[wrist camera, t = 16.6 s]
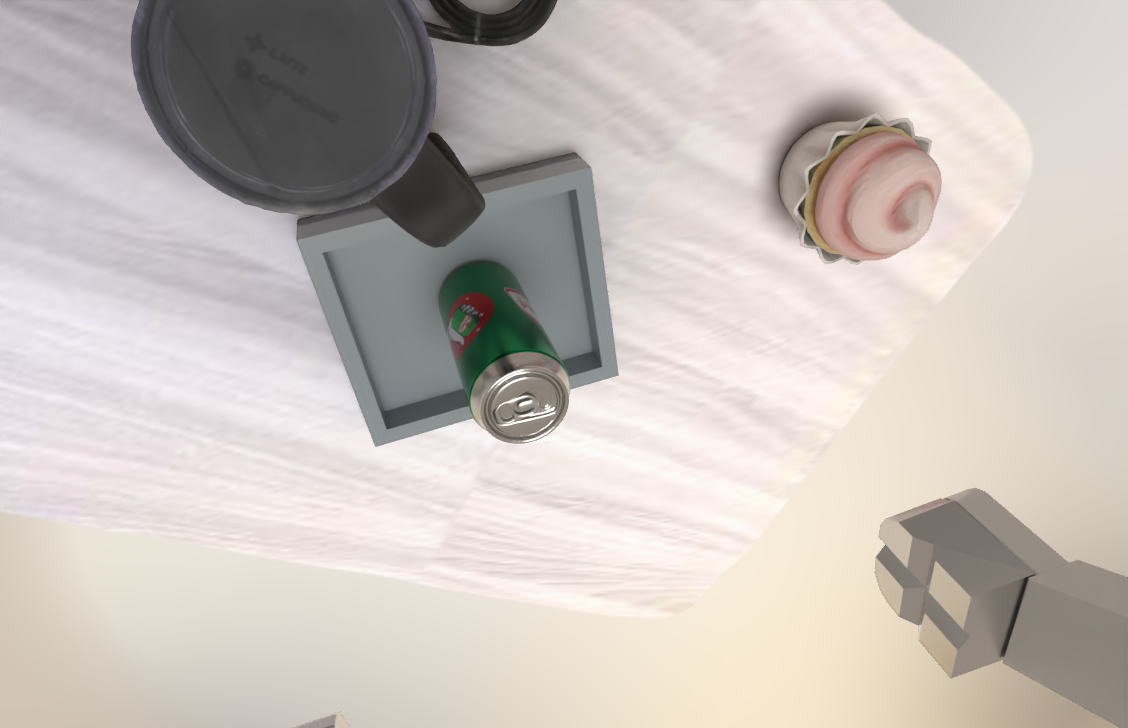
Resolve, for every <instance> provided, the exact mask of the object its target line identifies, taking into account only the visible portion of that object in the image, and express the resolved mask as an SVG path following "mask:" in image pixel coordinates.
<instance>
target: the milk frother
mask: <svg viewBox="0 0 1128 728" xmlns="http://www.w3.org/2000/svg"><path fill="white" fill-rule="evenodd" d="M430 2H431V4H432V5H433V7H434V8H435V10H436V11H437V12H438V13H439V14H440V16H441V17H442V18H443V19H444V20H446V21H447V22H448V23H449V24H450V25H451V28H446V27H442V26H438V25H434V24H431V23H428V22H424V21H423V20H422V18H421V15H420V13H419V12H418V10H417V8H416V7H415V5H414V3H413V1H412V0H140V1H139V4H138V7H137V10H136V13H135V17H134V21H133V25H132V35H131V54H132V63H133V70H134V76H135V79H136V83H137V88H138V91H139V94H140V96H141V99H142V101H143V104H144V106H145V109H146V111H147V113H148V115H149V116H150V118H151V120H152V122H153V124H154V126H155V128H156V129H157V131H158V133H159V135H160V136H161V137H162V139H163V140H164V142H165V143H166V144H167V145H168V146H169V147H170V148H171V150H172V151H173V152H174V153H175V154H176V155H177V156H178V157H179V158H180V159H181V160H182V161H183V162H184V163H185V164H186V165H187V166H188V167H189V168H190V169H191V170H192V171H193V172H194V173H195V174H197V175H198V176H199V177H201V178H202V179H203V180H205V181H206V182H207V183H209V184H210V185H212V186H213V187H215V188H216V189H218V190H220V191H221V192H223V193H225V194H227V195H229V196H231V197H233V198H236V199H238V200H240V201H241V202H243V203H244V204H248V205H252V206H256V207H260V208H262V209H265V210H270V211H274V212H280V213H291V214H300V215H312V214H325V213H331V212H335V211H339V210H343V209H347V208H351V207H354V206H357V205H360V204H363V203H366V202H368V201H371V202H372V203H373V204H374V205H375V206H376V207H378V208H379V209H380V210H381V211H382V212H383V213H384V214H385V215H387V216H388V217H389V218H390V219H391V220H392V221H394V222H395V223H396V224H397V225H398V226H400V227H401V228H402V229H404V230H405V231H406V232H407V233H409V234H410V235H412V236H413V237H414V238H416V239H417V240H419V241H420V242H422V243H424V244H426V245H428V246H430V247H433V248H438V247H446V246H447V245H448V244H450V243H451V242H452V241H454V240H455V239H456V238H457V237H459V236H460V235H461V234H462V233H463V232H464V231H466V230H467V229H468V228H469V227H470V226H471V225H472V224H473V223H474V222H475V221H476V220H477V218H478V217H479V216H480V215H481V213H482V212H483V211H484V209H485V206H486V205H485V200H484V197H483V196H482V194H481V193H480V192H479V190H478V189H477V187H476V186H475V184H474V182H473V181H472V180H471V178H470V177H469V175H468V174H467V172H466V171H465V169H464V168H463V166H462V165H461V163H460V162H459V160H458V158H457V157H456V156H455V153H454V152H453V151H452V149H451V148H450V147H449V145H448V144H447V143H446V142H445V141H444V140H443V138H442V137H441V136H440V135H439V134H437V133H429V130H430V126H431V123H432V120H433V117H434V111H435V106H436V83H437V80H436V68H435V61H434V55H433V49H432V45H431V42H430V39H429V37H433V38H437V39H442V40H446V41H453V42H460V43H467V44H474V45H486V46H504V45H511V44H515V43H518V42H520V41H523V40H525V39H527V38H528V37H530V36H531V35H533V34H534V33H536V32H537V31H538V30H539V29H540V28H541V27H542V26H543V25H544V24H545V22H546V21H547V20H548V18H549V16H550V15H551V13H552V11H553V9H554V7H555V5H556V2H557V0H522V1H521V2H520V3H519V4H518V5H517V6H515V7H514V8H513V9H511V10H509V11H506V12H504V13H500V14H495V15H487V14H482V13H479V12H476V11H473V10H471V9H469V8H468V7H466V6H465V5H464V4H462V3H461V2H460V1H459V0H430ZM428 133H429V134H428Z"/></svg>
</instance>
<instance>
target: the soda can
mask: <svg viewBox="0 0 1128 728" xmlns="http://www.w3.org/2000/svg"><path fill="white" fill-rule="evenodd" d="M439 311H440V314H441V318H442V321H443V324H444V328H445V331H446V334H447V337H448V341H449V344H450V347H451V350H452V353H453V357H454V360H455V363H456V366H457V370H458V373H459V376H460V379H461V383H462V386H463V389H464V392H465V396H466V399H467V402H468V405H469V409H470V412H471V414H472V416H473V418H474V420H475V421H476V422H477V423H478V424H479V425H480V426H481V427H482V428H483V429H485V430H486V431H488V432H489V433H490V434H491V435H492V436H494V437H495V438H497V439H499V440H501V441H504V442H508V443H515V444H519V443H528V442H532V441H535V440H538V439H540V438H542V437H544V436H546V435H548V434H549V433H550V432H552V431H553V430H554V429H555V428H556V427H557V426H558V425H559V424H560V423H561V421H562V420H563V418H564V416H565V414H566V412H567V409H568V404H569V394H570V379H569V375H568V373H567V370H566V368H565V367H564V365H563V363H562V361H561V359H560V357H559V356H558V354H557V352H556V350H555V348H554V346H553V345H552V343H551V341H550V339H549V337H548V335H547V333H546V332H545V330H544V328H543V326H542V324H541V322H540V321H539V319H538V317H537V315H536V313H535V311H534V310H533V308H532V306H531V304H530V302H529V300H528V298H527V297H526V295H525V293H524V291H523V289H522V287H521V286H520V284H519V282H518V280H517V279H516V277H515V276H514V275H513V274H512V273H511V272H510V271H508V270H507V269H505V268H503V267H502V266H499V265H496V264H492V263H475V264H472V265H468V266H466V267H463V268H461V269H460V270H458V271H457V272H455V273H454V274H453V275H452V276H451V277H450V278H449V279H448V280H447V281H446V283H445V285H444V286H443V288H442V291H441V293H440V297H439Z"/></svg>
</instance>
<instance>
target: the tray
mask: <svg viewBox="0 0 1128 728" xmlns="http://www.w3.org/2000/svg"><path fill="white" fill-rule="evenodd" d="M471 180H472V181H473V182H474V184H475V186H476V187H477V189H478V190H479V192H480V193H481V194H482V196H483V197H484V200H485V205H486V206H485V209H484V211H483V212H482V213H481V215H480V216H479V217H478V218H477V220H476V221H475V222H474V223H473V224H472V225H471V226H470V227H469V228H468V229H467V230H466V231H464V232H463V233H462V234H461V235H460V236H459V237H457V238H456V239H455V240H454V241H452V242H451V243H450V244H448V245H447V246H446V247H438V248H433V247H430V246H428V245H426V244H424V243H422V242H420V241H419V240H417V239H416V238H414V237H413V236H412V235H410V234H409V233H407V232H406V231H405V230H404V229H402V228H401V227H400V226H398V225H397V224H396V223H395V222H394V221H392V220H391V219H390V218H389V217H388V216H387V215H385V214H384V213H383V212H382V211H381V210H380V209H379V208H378V207H376V206H375V205H374V204H373V203H372V202H370V203H366V204H362V205H358V206H354V207H351V208H347V209H343V210H339V211H335V212H331V213H325V214H321V215H317V216H312V217H308V218H304V219H300V220H298V221H297V243H298V246H299V248H300V251H301V253H302V256H303V259H304V261H305V264H306V266H307V269H308V272H309V274H310V277H311V280H312V282H313V285H314V287H315V290H316V293H317V295H318V298H319V301H320V303H321V306H322V308H323V311H324V314H325V316H326V319H327V321H328V324H329V327H330V329H331V332H332V335H333V337H334V340H335V342H336V345H337V348H338V350H339V353H340V355H341V358H342V361H343V363H344V366H345V369H346V371H347V374H348V376H349V379H350V382H351V384H352V387H353V390H354V392H355V395H356V397H357V400H358V403H359V405H360V408H361V410H362V413H363V416H364V418H365V421H366V424H367V426H368V429H369V431H370V434H371V437H372V439H373V442H374V444H375V447H377V446H380V445H384V444H387V443H390V442H394V441H397V440H401V439H404V438H407V437H411V436H414V435H418V434H421V433H424V432H428V431H431V430H435V429H438V428H441V427H445V426H448V425H452V424H455V423H458V422H462V421H465V420H468V419H472V418H473V416H472V414H471V412H470V409H469V405H468V402H467V399H466V396H465V392H464V389H463V386H462V383H461V379H460V376H459V373H458V370H457V366H456V363H455V360H454V357H453V353H452V350H451V347H450V344H449V341H448V337H447V334H446V331H445V328H444V324H443V321H442V318H441V314H440V311H439V297H440V293H441V291H442V288H443V286H444V285H445V283H446V281H447V280H448V279H449V278H450V277H451V276H452V275H453V274H454V273H455V272H457V271H458V270H460V269H461V268H463V267H466V266H468V265H472V264H475V263H492V264H496V265H499V266H502V267H503V268H505V269H507V270H508V271H510V272H511V273H512V274H513V275H514V276H515V277H516V279H517V280H518V282H519V284H520V286H521V287H522V289H523V291H524V293H525V295H526V297H527V298H528V300H529V302H530V304H531V306H532V308H533V310H534V311H535V313H536V315H537V317H538V319H539V321H540V322H541V324H542V326H543V328H544V330H545V332H546V333H547V335H548V337H549V339H550V341H551V343H552V345H553V346H554V348H555V350H556V352H557V354H558V356H559V357H560V359H561V361H562V363H563V365H564V367H565V368H566V370H567V373H568V375H569V379H570V389H574V388H577V387H580V386H584V385H587V384H591V383H594V382H597V381H601V380H604V379H608V378H611V377H614V376H618V367H617V360H616V352H615V345H614V337H613V329H612V322H611V314H610V307H609V299H608V292H607V284H606V277H605V269H604V262H603V254H602V246H601V239H600V231H599V224H598V216H597V209H596V201H595V194H594V186H593V179H592V171H591V167H590V166H589V165H588V164H587V163H586V162H585V161H584V160H583V159H582V158H581V157H580V156H578V155H577V154H576V153H571V154H567V155H563V156H558V157H554V158H550V159H546V160H542V161H538V162H534V163H530V164H526V165H522V166H517V167H513V168H509V169H505V170H501V171H497V172H493V173H489V174H485V175H481V176H476V177H472V178H471Z"/></svg>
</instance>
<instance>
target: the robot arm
mask: <svg viewBox="0 0 1128 728" xmlns="http://www.w3.org/2000/svg"><path fill="white" fill-rule="evenodd" d="M879 538H880V539H881V540H882V541H883V542H884V543H885V546H884V547H883V548H882V550H881V551H880V553H879V554H878V555H877V557H876V563H875V575H876V578H877V581H878V585H879V588H880V590H881V592H882V594H883V596H884V597H885V599H886V601H887V602H888V604H889V605H890V606H891V607H892V609H893V610H894V611H895V612H896V614H897V615H898V616H899V617H901V618H903V619H905V620H908V621H910V622H912V623H914V624H916V625H918V630H919V641H920V643H921V644H922V645H923V646H924V647H925V648H926V650H927V651H928V652H929V653H930V654H931V656H932V657H933V658H934V659H935V660H936V661H937V662H938V664H939V665H940V666H941V667H942V669H943V670H944V671H945V672H946V673H947V674H948V676H949V677H950V678H953V677H956V676H959V675H962V674H964V673H967V672H970V671H973V670H975V669H978V668H981V667H984V666H986V665H989V664H992V663H995V662H997V661H1000V660H1003V659H1004V660H1003V664H1005V665H1007V666H1009V667H1011V668H1012V669H1014V670H1016V671H1018V672H1020V673H1022V674H1023V675H1025V676H1027V677H1029V678H1031V679H1032V680H1034V681H1036V682H1038V683H1040V684H1042V685H1043V686H1045V687H1047V688H1049V689H1051V690H1052V691H1054V692H1056V693H1058V694H1060V695H1061V696H1063V697H1065V698H1067V699H1069V700H1071V701H1072V702H1074V703H1076V704H1078V705H1080V706H1081V707H1083V708H1085V709H1087V710H1089V711H1090V712H1092V713H1094V714H1096V715H1098V716H1100V717H1101V718H1103V719H1105V720H1107V721H1109V722H1110V723H1112V724H1114V725H1116V726H1118V727H1119V728H1128V577H1125V576H1122V575H1119V574H1116V573H1114V572H1111V571H1108V570H1105V569H1102V568H1099V567H1097V566H1094V565H1091V564H1088V563H1085V562H1082V561H1080V560H1075V561H1072V562H1067V561H1066V560H1065V559H1064V558H1063V557H1062V556H1060V555H1059V554H1058V553H1057V552H1056V551H1054V550H1053V549H1052V548H1051V547H1050V546H1049V545H1047V544H1046V543H1045V542H1044V541H1043V540H1041V539H1040V538H1039V537H1038V536H1037V535H1036V534H1034V533H1033V532H1032V531H1031V530H1030V529H1029V528H1027V527H1026V526H1025V525H1024V524H1023V523H1022V522H1020V521H1019V520H1018V519H1017V518H1016V517H1014V516H1013V515H1012V514H1011V513H1010V512H1009V511H1007V510H1006V509H1005V508H1004V507H1003V506H1002V505H1000V504H999V503H998V502H997V501H996V500H994V499H993V498H992V497H991V496H990V495H989V494H987V493H986V492H985V491H982V490H980V489H977V488H972V489H968V490H965V491H962V492H960V493H957V494H954V495H952V496H949V497H947V498H944V499H938V500H935V501H932V502H930V503H927V504H924V505H921V506H919V507H916V508H913V509H911V510H908V511H905V512H903V513H900V514H897V515H894V516H892V517H889V518H887V519H885V520H884V522H883V523H882V524H881V525H880V531H879ZM293 728H349V724H348V722H347V721H346V719H345V718H344V716H343V714H342V713H341V712H338V713H336V714H332V715H329V716H326V717H323V718H320V719H317V720H314V721H312V722H309V723H305V724H302V725H300V726H297V727H293Z"/></svg>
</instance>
